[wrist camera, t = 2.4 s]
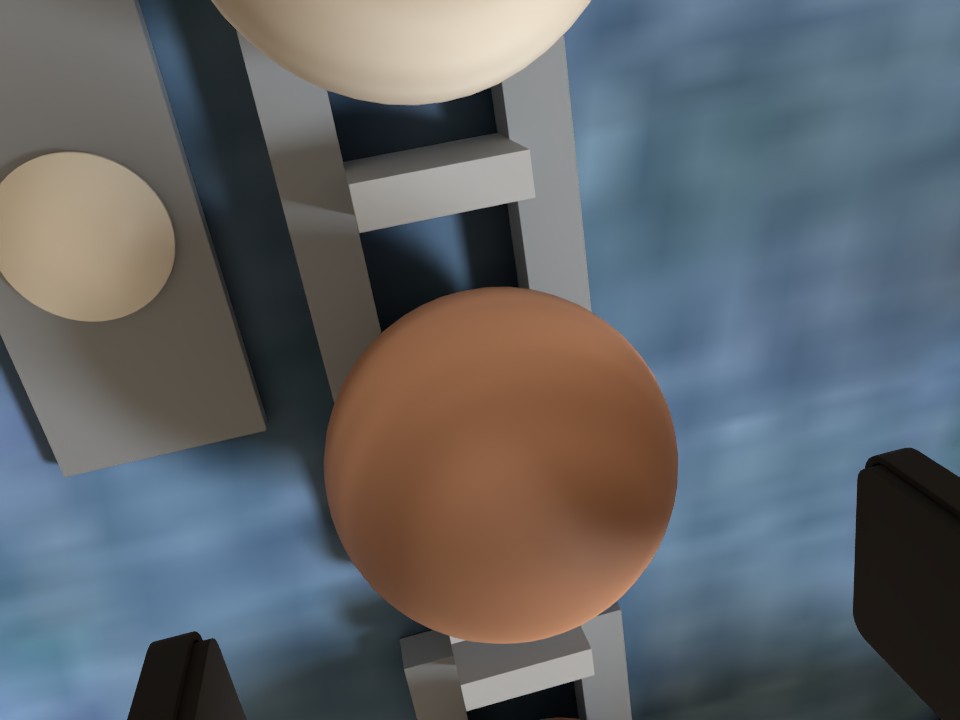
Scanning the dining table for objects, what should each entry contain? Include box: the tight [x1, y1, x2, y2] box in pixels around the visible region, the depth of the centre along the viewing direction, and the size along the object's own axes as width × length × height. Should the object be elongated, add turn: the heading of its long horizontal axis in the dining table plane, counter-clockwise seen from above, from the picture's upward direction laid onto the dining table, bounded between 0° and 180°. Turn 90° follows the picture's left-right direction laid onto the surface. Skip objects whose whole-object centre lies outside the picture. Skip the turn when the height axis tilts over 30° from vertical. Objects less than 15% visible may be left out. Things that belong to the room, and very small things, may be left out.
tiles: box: [0, 0, 268, 477], centre depth 18 cm, size 29×4×1 cm, turn 9°
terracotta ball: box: [324, 287, 678, 644], centre depth 13 cm, size 6×6×6 cm
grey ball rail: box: [236, 30, 632, 720], centre depth 18 cm, size 39×5×2 cm, turn 9°
